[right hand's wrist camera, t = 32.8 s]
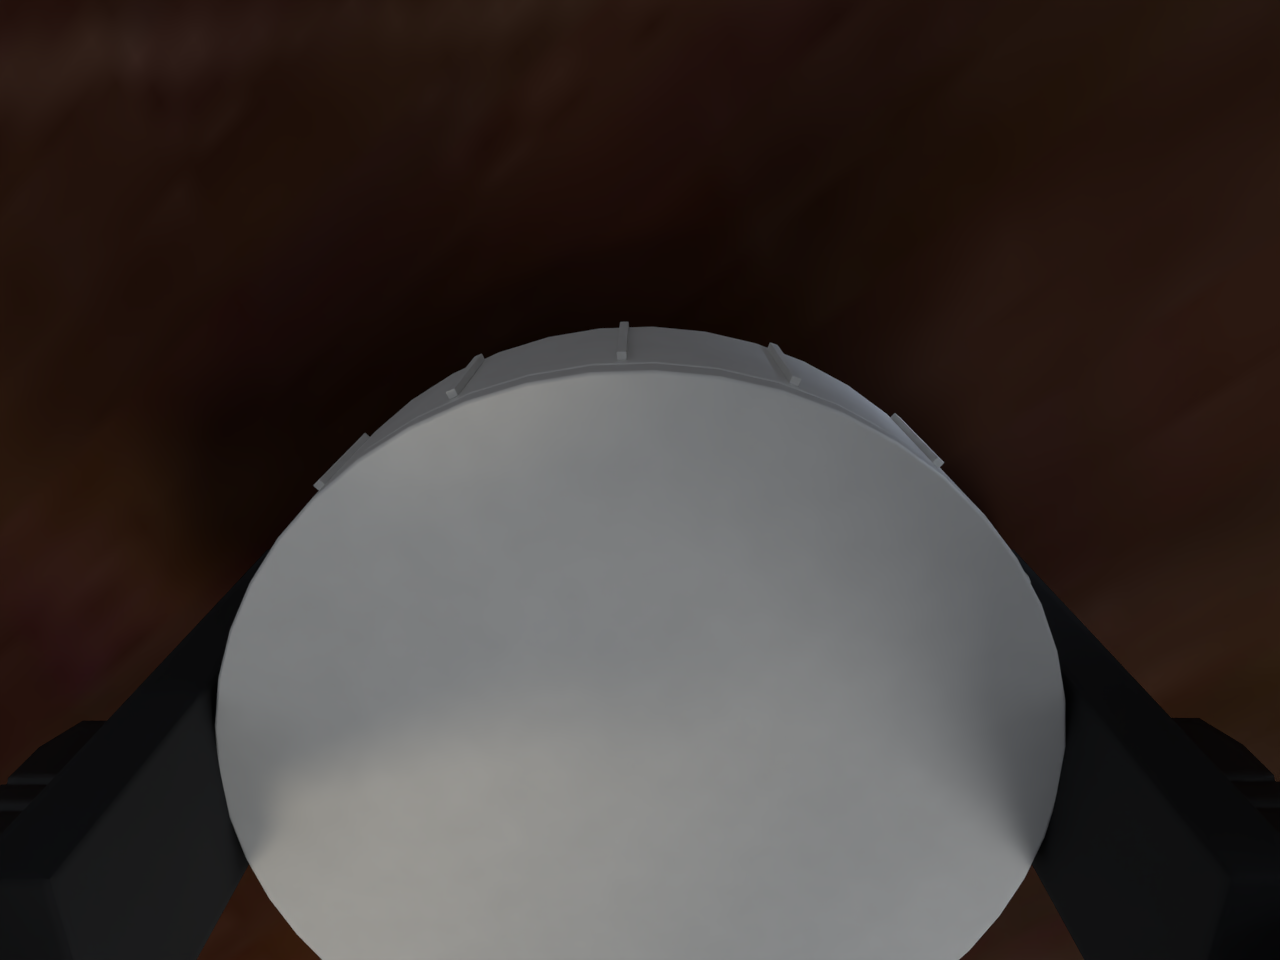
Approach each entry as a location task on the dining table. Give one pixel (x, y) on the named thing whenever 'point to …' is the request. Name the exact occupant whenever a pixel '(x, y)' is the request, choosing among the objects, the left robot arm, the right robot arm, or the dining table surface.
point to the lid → (640, 674)
